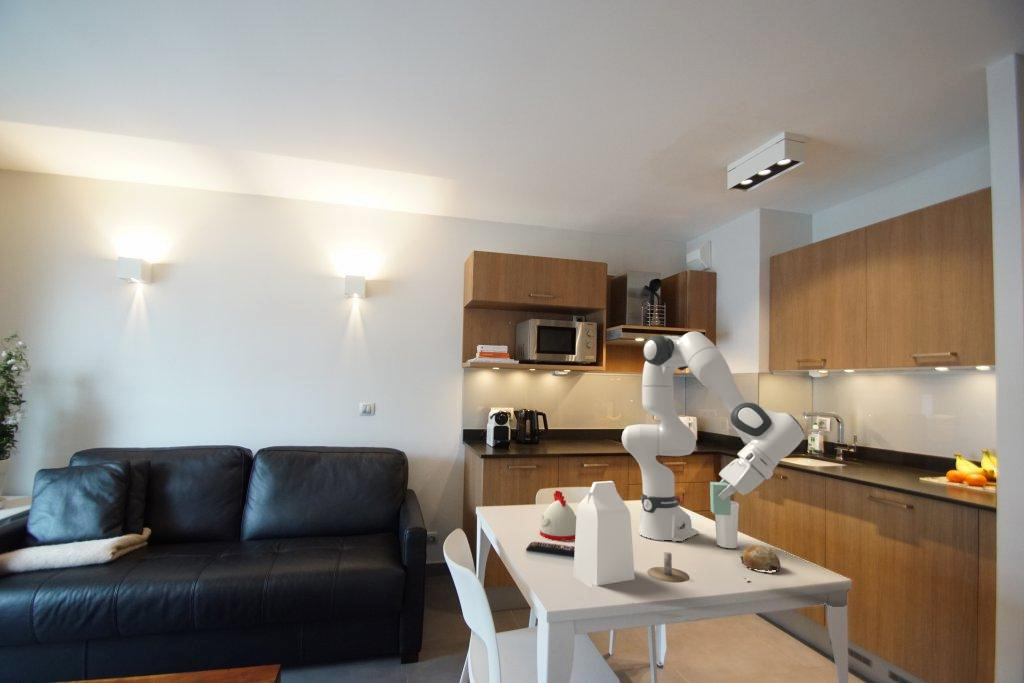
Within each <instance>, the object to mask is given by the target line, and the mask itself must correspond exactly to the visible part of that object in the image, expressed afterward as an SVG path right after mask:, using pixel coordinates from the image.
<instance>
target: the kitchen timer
mask: <svg viewBox="0 0 1024 683" xmlns="http://www.w3.org/2000/svg"><path fill="white" fill-rule="evenodd" d="M553 498H554V501H553V502H551V504H549V506H548V507H547V508H546V510H545V511H544V513H543V514H541V517H540V527H539V536H540V535H541V536H543V537H545V538H548V539H547V540H549V539H552V540H551V541H554V540H559V541H558V542H568V541H567V540H571V541H575V540H574V539H575V535H576V516H577V515H576V514H575V512H574V510H573V508H572V507H571V506H570V505H569V504H568V503H567V501H566V500H565V496H564V495H563V492H562V491H561V490H560V491H559V490H555V492H554V493H553ZM541 536H540V537H541ZM543 537H542V538H543ZM545 538H544V539H545ZM562 540H563V541H562Z"/></svg>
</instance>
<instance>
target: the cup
mask: <svg viewBox="0 0 1024 683" xmlns="http://www.w3.org/2000/svg"><path fill="white" fill-rule="evenodd" d="M730 504H731V515H717V514H714V521H715V523H714V524H715V535H716V536H715V537H716V545H717V546H718V545H719V547H721V548H725V549H727V548H728V549H735V548H738V538H739V537H738V531H739V530H738V529H739V509H740V504H739V502H737V501H733V500H730Z"/></svg>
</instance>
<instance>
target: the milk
mask: <svg viewBox="0 0 1024 683" xmlns="http://www.w3.org/2000/svg"><path fill="white" fill-rule="evenodd" d="M616 487H617V486H616V484H615V482H614V481H612V480H606V481H594V482H592V484H591V486H590V490H589V492H588V493H587V494H586V495H585V497H584V498H583V499H582V500H581V501H580V502H579V504H578V505H577V507H576V515H575V516H576V535H575V540H574V558H573V577H574V578H576V579H577V580H579V582H582V584H584V585H586V586H587V587H589V588H590V589H592V586H593V585H594V586H596V587H597V586H604V585H609V584H610V585H611V584H613V583H614V584H616V583H620V582H627V581H632V580H636V578H635V566H634V565H635V563H634V550H633V549H634V548H633V534H632V533H633V532H632V517H631V512H630V509H629V508H628V506H627V504H626V503H625V502H624V500H623V499H622V497H621V495H620V494H619V493H618V491H617V488H616Z"/></svg>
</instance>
